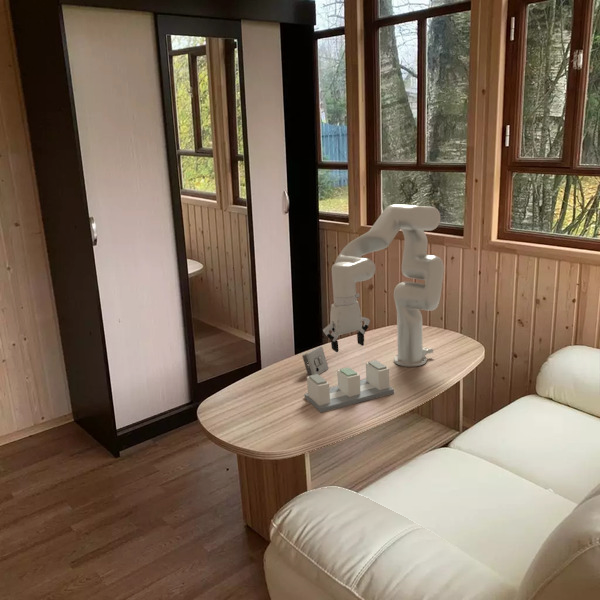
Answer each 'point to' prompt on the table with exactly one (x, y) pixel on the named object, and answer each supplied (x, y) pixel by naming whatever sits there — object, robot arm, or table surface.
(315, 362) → the electrical switch
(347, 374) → the block
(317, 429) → the table surface
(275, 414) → the table surface
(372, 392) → the rail board
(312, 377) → the mounted modules
